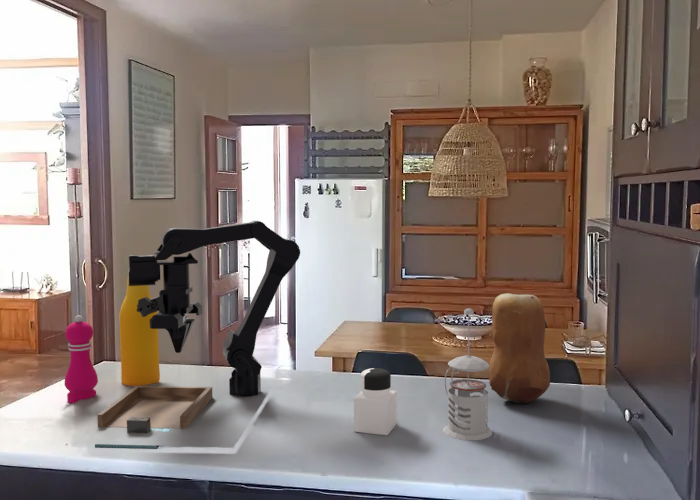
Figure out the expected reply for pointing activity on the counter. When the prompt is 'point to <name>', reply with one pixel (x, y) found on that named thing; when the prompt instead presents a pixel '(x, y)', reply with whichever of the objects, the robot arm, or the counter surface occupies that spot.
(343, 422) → the counter surface
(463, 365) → the french press
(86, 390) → the pepper mill
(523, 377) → the butternut squash
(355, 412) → the medicine bottle
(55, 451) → the counter surface
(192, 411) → the walnut box
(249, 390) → the robot arm
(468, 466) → the counter surface
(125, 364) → the yellow bottle
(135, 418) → the cover plate
